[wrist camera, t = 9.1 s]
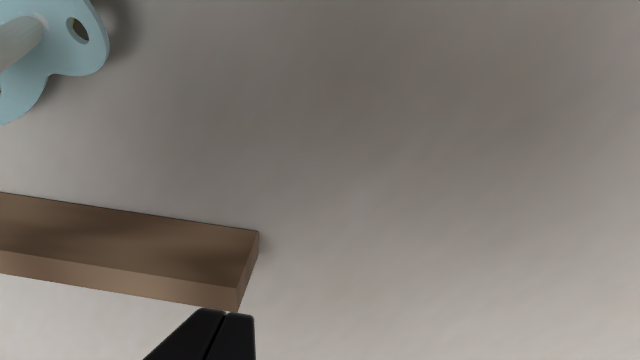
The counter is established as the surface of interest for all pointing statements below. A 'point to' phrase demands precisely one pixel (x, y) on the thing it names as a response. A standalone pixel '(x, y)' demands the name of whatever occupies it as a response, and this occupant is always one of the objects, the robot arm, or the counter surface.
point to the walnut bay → (126, 252)
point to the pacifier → (45, 48)
